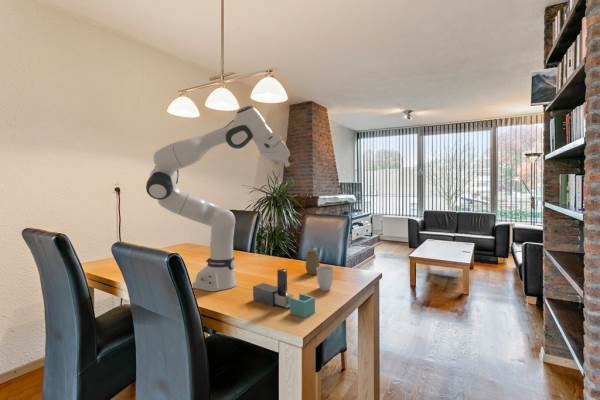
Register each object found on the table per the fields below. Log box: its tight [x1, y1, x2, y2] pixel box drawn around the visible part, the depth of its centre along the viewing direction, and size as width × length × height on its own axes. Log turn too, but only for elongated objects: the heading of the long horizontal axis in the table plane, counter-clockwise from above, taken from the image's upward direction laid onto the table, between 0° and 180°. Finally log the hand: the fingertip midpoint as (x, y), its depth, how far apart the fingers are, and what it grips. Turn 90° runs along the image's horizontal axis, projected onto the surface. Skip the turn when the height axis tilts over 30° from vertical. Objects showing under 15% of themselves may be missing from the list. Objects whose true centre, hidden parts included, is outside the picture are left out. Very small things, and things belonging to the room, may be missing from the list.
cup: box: [316, 265, 334, 291], centre depth 146 cm, size 8×8×10 cm
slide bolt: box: [273, 268, 294, 309], centre depth 128 cm, size 17×4×14 cm, turn 51°
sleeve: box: [252, 282, 278, 307], centre depth 131 cm, size 12×6×6 cm, turn 51°
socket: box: [289, 293, 316, 319], centre depth 118 cm, size 7×7×6 cm
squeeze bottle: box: [305, 241, 321, 276], centre depth 171 cm, size 8×8×18 cm
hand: (283, 165), depth 136 cm, fingers open, 8 cm apart
